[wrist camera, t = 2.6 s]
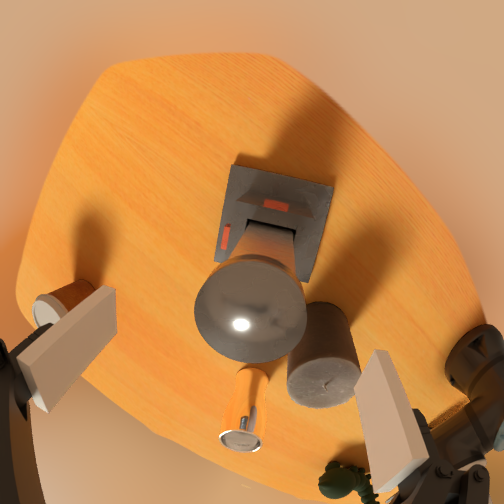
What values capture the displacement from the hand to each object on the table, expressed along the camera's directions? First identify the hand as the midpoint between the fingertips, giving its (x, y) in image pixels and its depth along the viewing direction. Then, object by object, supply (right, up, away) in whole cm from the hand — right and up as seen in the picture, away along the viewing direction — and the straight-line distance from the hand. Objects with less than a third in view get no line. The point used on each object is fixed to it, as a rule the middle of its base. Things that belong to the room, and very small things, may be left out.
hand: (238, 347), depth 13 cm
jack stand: (+4, +8, +27) cm, 29 cm away
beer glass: (+1, -19, +37) cm, 41 cm away
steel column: (+3, +8, +25) cm, 27 cm away
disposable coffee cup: (-32, -4, +36) cm, 48 cm away
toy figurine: (+27, -55, +45) cm, 76 cm away
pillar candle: (+11, -8, +32) cm, 35 cm away
